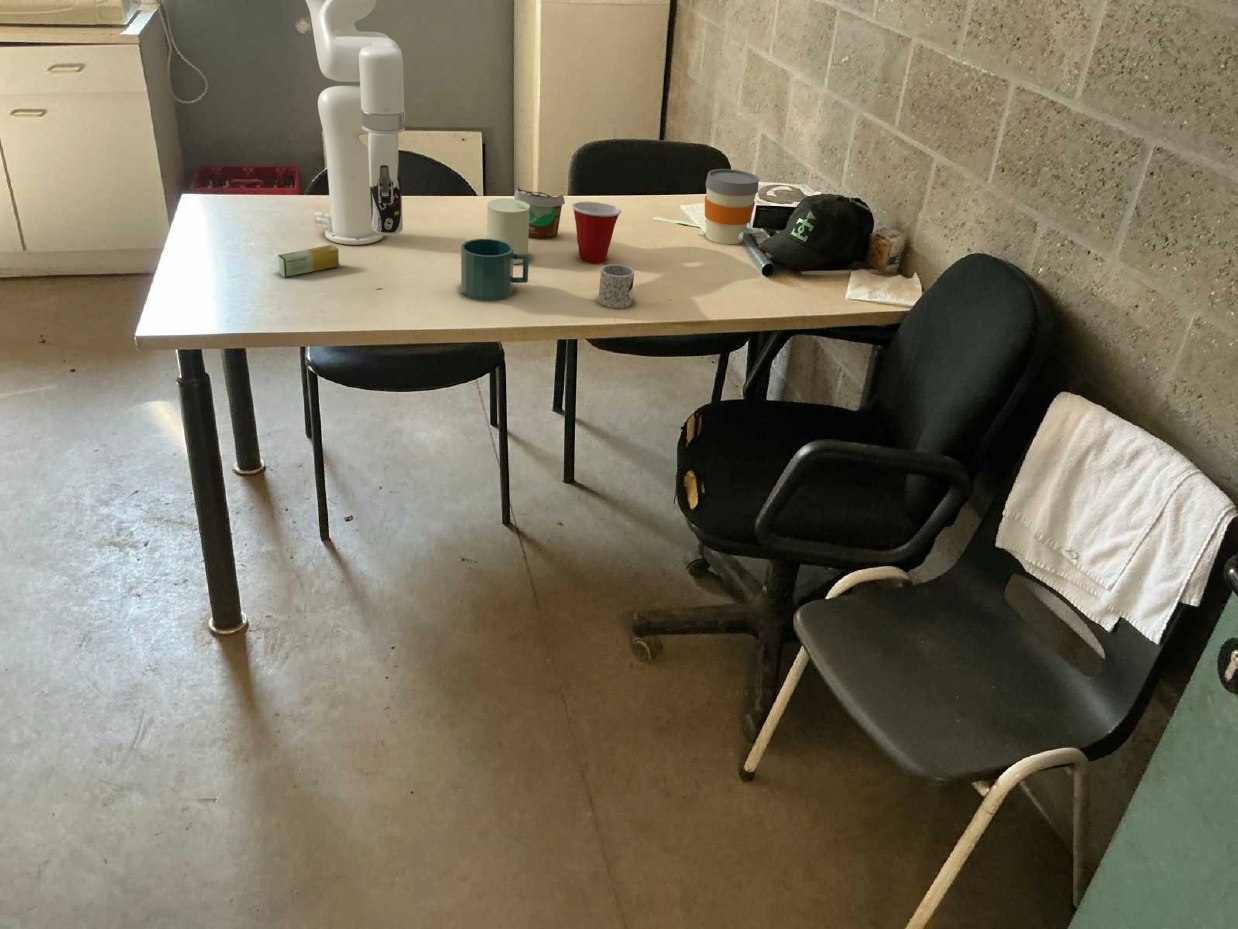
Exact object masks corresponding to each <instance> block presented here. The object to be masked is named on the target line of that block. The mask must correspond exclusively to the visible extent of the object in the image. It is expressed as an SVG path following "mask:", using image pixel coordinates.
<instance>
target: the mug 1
mask: <svg viewBox="0 0 1238 929" xmlns="http://www.w3.org/2000/svg"><path fill="white" fill-rule="evenodd" d="M513 259H523V263H522V276H519V277H518V276H517V277H516V276H514V264H513ZM529 260H530V256H529V253H528V254H514V249H513V246H512V245H510V244H509V243H507V242H504V241H501V240H495V239H487V238H473V239H469V240H466V241H464V242H463V243H461V245H460V291H461V293H463V295H465V296H467V297H469V298H470V299H471V298H472V299H476V300H481V301H497V300H502V299H506V298H508V297H509V296H511V295H512V293H513V288H514V284H527V283H528V282H529V267H530V266H529V264H530V261H529Z"/></svg>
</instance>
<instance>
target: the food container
mask: <svg viewBox="0 0 1238 929" xmlns="http://www.w3.org/2000/svg"><path fill="white" fill-rule="evenodd" d="M520 186H521V185H517V187H516V189H515V191H514V196H513V199H515V200H520V201H523V202H526V203H528V204H529V205H530V212H529V235H528V239H534V240H549V239H554V238H557V237H558V234H559V227H560V220H561V216H562V215H561V214H562V207H563V205H565V204H566V201H565V197H564V194H561V195H557V196H556V195H555V196H553V195H549V194H547V193H545V192H541V191H528V190H524V189H521V187H520Z"/></svg>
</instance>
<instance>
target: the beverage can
mask: <svg viewBox="0 0 1238 929" xmlns="http://www.w3.org/2000/svg"><path fill="white" fill-rule="evenodd" d="M388 174H389V170H388ZM390 182H391V179H390ZM380 186H381V187H382V183H380ZM389 187H391V183H388V188H389ZM381 191H382V190H381ZM389 192H390V190H389ZM402 192H403V188H402V178H401V176H400V175H399V174H398V175H397V185H396V187H395V188H393V203H394V204H391V198H390V203H382V202H381V203H379V202H378V183H377V186H373V188H372V187H371V186H370V195H371V216H372V229H373V230H374V231H375V232H377V233H378V234H380V235H383V237H391V236H396V235H398V234H399V233H401V232H402V230H403V228H404V226H403V225H404V223H403V193H402ZM390 204H391V219H390ZM382 207H383V218H384V220H383V218H382Z"/></svg>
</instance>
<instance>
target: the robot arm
mask: <svg viewBox="0 0 1238 929" xmlns="http://www.w3.org/2000/svg"><path fill="white" fill-rule="evenodd" d="M305 2H306V5H307V8H308V10H309V14H310V20H311V21H310V22H311V26H312V34H313V40H314V45H315V46H314V47H315V52H316V58H317V62H318V66H319V70H320V72H321V74H322V75H323V76H324V78H326V79H328V80H332V81H335V82H342V83H344V82H345V83H349V82H350V83H352V82H353V83H355V82H356V83H357V82H358V83H359V85H334V86H329V87H327V88H325V89H323V90H322V91H321V92H320V93H319V96H318V98H317V109H318V115H319V119H320V124H321V128H322V133H323V139H324V146H325V156H326V157H325V158H326V167H327V168H326V169H327V182H328V195H329V208H330V211H329V212H328V213H325V212H321V211H315V213H314V220H315V221H314V222H315V224H320V225H325V226H326V228H325V229H324V237H325V238H326V239H327V240H329V241H331V242H333V243H338V244H341V245H354V246H355V245H356V246H359V245H367V244H373V243H376V242H379V241H380V240H382V239H383V238H384V235H380V234H378V233H377V232H375V231H374V230H373V229H372V216H371V195H370V186H371V187H372V188H373V186H377V183H378V202H379V203H381V202H382V203H390V198H391V204H394V203H393V188H395V187H396V185H397V175H399V134H400V133H401V134H402V133H403V132H405V131H406V130H405V129H406V127H405V122H406V110H405V96H404V95H405V88H404V87H405V86H404V84H405V83H404V58H403V51H402V49H401V48H400V47H399V46H398V44H397V42H396V41H395V40H394V39H392V38H390V37H389V36H388V35H387V34H385V33H383V32H381V31H362V30H361V31H360V30H358V29H357V28H356V24H355V23H356V22H358V21H360V20H362V19H364V18H365V17H367V16H369V14H371V13H372V11H373V10H374V8H375V7H376V5H377V0H305ZM364 135H367V138H368V139H367V145H366V144H365V143H364V142H363V140H361V138H360V136H364ZM388 170H389V174H388ZM390 179H391V182H390ZM380 183H382V187H381V186H380ZM388 183H391V187H389V188H388ZM381 190H382V191H381ZM389 190H390V192H389ZM391 204H390V219H391ZM382 218H383V207H382ZM383 220H384V218H383Z"/></svg>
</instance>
